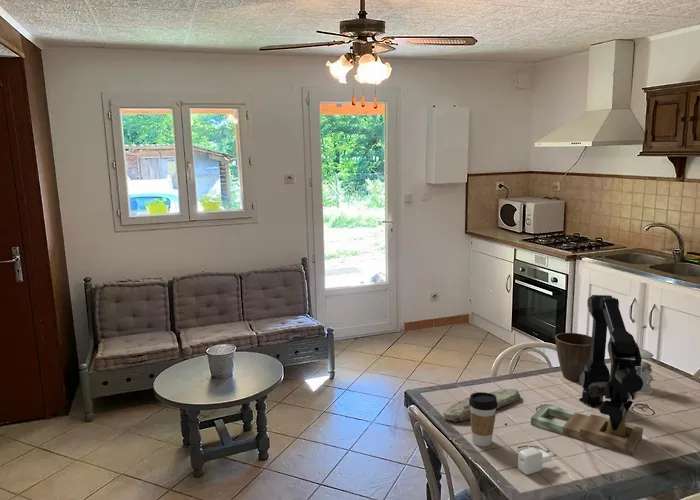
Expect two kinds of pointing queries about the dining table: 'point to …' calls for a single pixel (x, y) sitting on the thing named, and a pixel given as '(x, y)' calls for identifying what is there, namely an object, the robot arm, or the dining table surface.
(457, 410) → the elongated rock
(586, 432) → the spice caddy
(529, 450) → the power adapter
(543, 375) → the dining table surface
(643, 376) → the french press
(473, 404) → the coffee cup
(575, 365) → the plant pot
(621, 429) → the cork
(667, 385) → the dining table surface
